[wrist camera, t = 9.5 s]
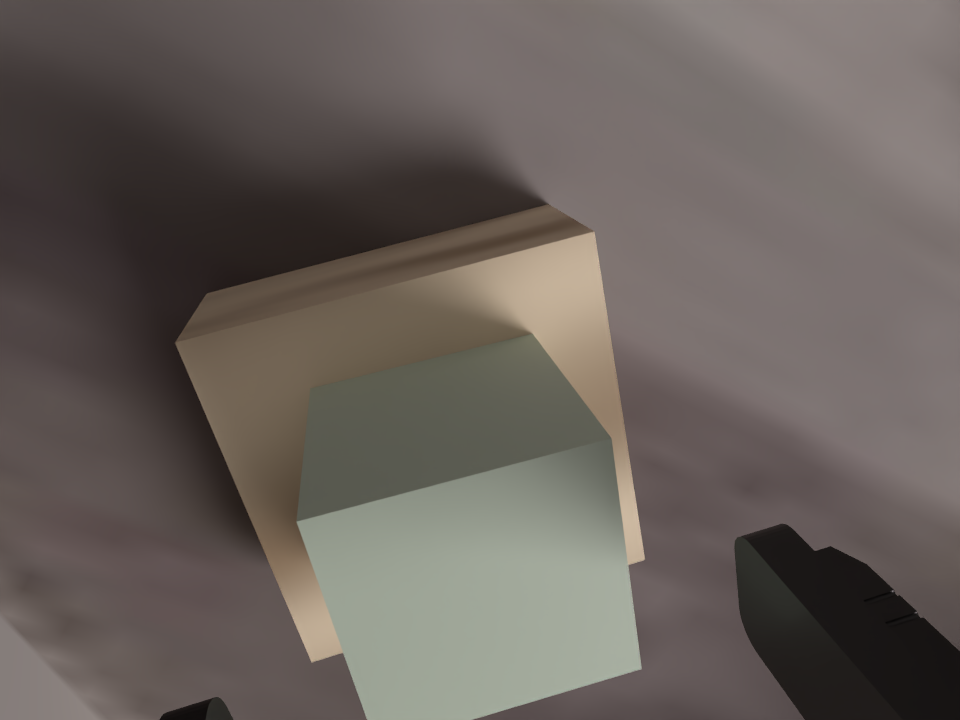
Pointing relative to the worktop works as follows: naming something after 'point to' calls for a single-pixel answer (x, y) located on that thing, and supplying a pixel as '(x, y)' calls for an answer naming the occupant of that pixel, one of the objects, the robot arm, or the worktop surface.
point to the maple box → (391, 357)
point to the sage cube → (467, 534)
